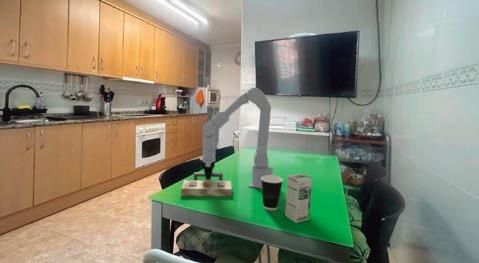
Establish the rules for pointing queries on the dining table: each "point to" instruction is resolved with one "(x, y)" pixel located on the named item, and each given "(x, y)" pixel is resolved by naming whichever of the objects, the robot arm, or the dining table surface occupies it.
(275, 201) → the dixie cup
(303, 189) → the syrup box
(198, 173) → the grey long bar
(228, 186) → the display stand
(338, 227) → the dining table surface
